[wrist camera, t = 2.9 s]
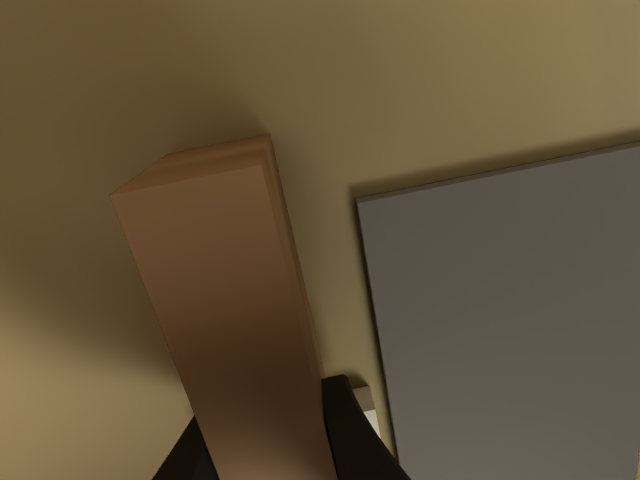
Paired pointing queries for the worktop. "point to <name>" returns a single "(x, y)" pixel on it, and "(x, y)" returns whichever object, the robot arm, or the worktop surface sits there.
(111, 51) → the worktop surface
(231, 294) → the spatula
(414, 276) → the mat
